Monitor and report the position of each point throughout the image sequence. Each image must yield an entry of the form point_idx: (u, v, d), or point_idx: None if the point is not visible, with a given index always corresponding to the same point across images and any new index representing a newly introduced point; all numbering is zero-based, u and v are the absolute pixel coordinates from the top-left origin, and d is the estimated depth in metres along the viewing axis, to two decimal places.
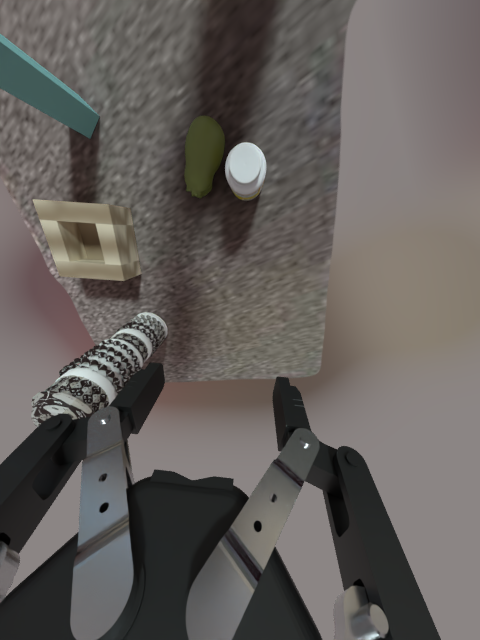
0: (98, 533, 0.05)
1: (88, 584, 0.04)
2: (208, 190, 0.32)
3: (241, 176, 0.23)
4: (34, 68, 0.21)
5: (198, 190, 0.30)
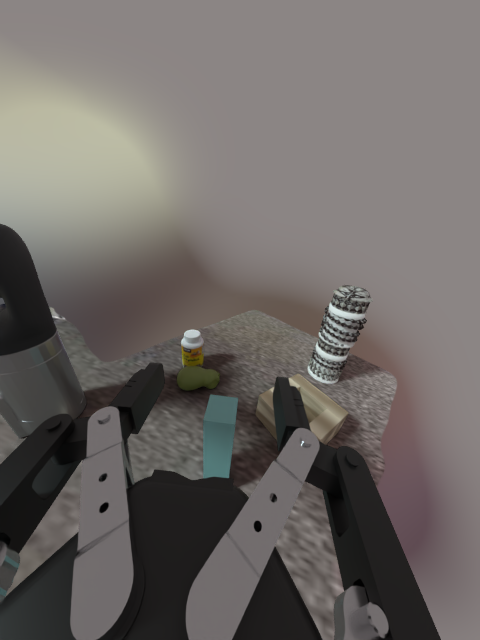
0: (98, 533, 0.05)
1: (88, 584, 0.04)
2: None
3: (197, 332, 0.48)
4: None
5: (214, 370, 0.46)
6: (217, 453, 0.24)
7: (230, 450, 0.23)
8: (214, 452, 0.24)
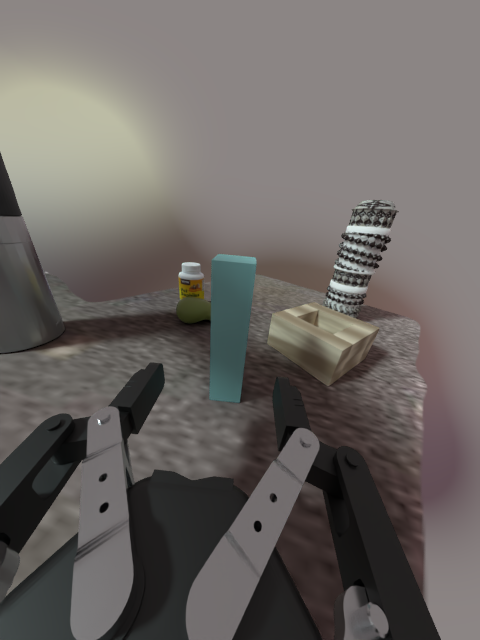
0: (98, 533, 0.05)
1: (88, 584, 0.04)
2: None
3: (197, 264, 0.42)
4: None
5: None
6: (229, 328, 0.18)
7: (247, 321, 0.17)
8: (225, 328, 0.18)
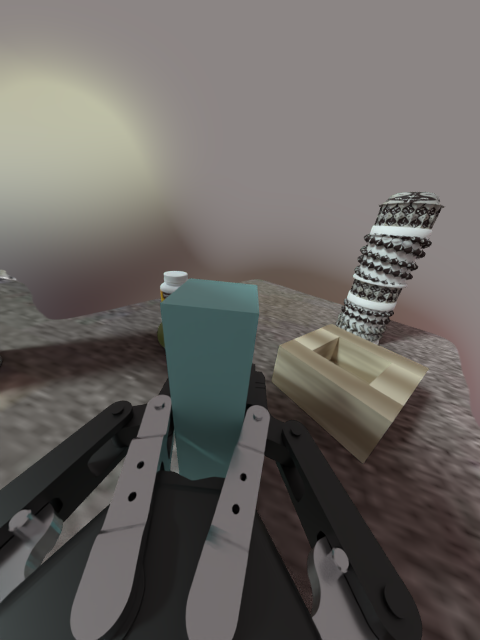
0: (120, 521, 0.06)
1: (88, 584, 0.04)
2: None
3: (183, 273, 0.33)
4: None
5: None
6: (207, 419, 0.10)
7: (240, 409, 0.09)
8: (199, 419, 0.10)
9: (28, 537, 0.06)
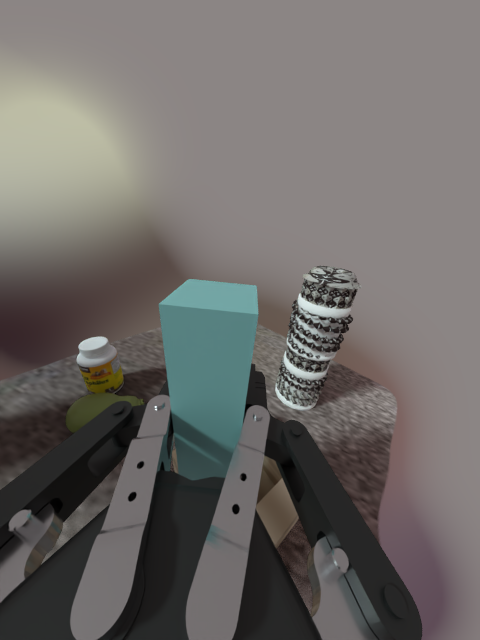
0: (120, 522, 0.06)
1: (88, 584, 0.04)
2: None
3: (103, 341, 0.32)
4: None
5: (136, 398, 0.31)
6: (206, 420, 0.10)
7: (240, 410, 0.09)
8: (199, 420, 0.10)
9: (28, 537, 0.06)
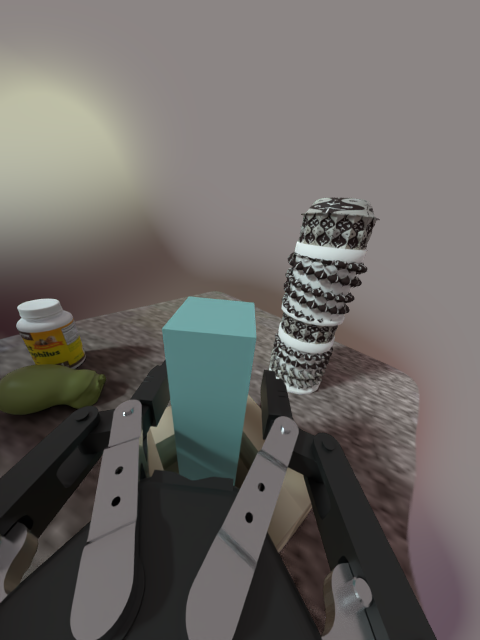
0: (107, 527, 0.05)
1: (88, 584, 0.04)
2: None
3: (51, 303, 0.25)
4: None
5: (95, 372, 0.25)
6: (207, 432, 0.10)
7: (239, 423, 0.10)
8: (200, 432, 0.10)
9: None
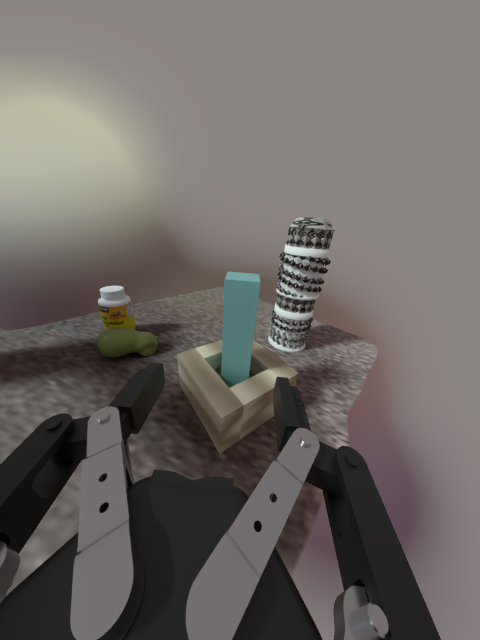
0: (98, 533, 0.05)
1: (88, 584, 0.04)
2: None
3: (119, 288, 0.37)
4: None
5: (152, 334, 0.36)
6: (238, 333, 0.22)
7: (252, 327, 0.21)
8: (234, 333, 0.22)
9: None
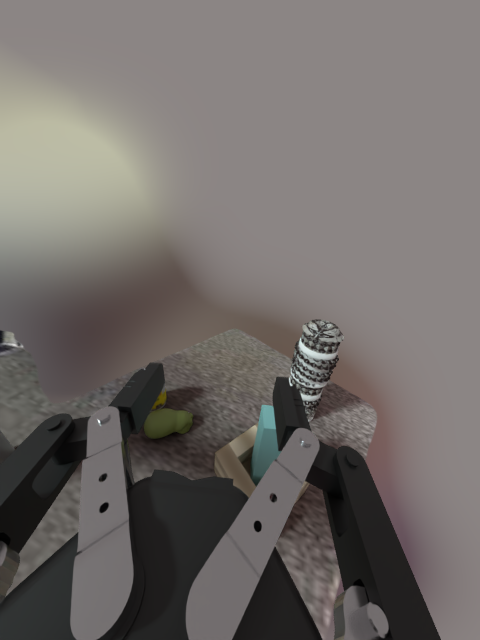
0: (98, 533, 0.05)
1: (88, 584, 0.04)
2: None
3: None
4: (257, 430, 0.31)
5: (187, 412, 0.43)
6: (270, 455, 0.28)
7: None
8: (267, 455, 0.28)
9: None
